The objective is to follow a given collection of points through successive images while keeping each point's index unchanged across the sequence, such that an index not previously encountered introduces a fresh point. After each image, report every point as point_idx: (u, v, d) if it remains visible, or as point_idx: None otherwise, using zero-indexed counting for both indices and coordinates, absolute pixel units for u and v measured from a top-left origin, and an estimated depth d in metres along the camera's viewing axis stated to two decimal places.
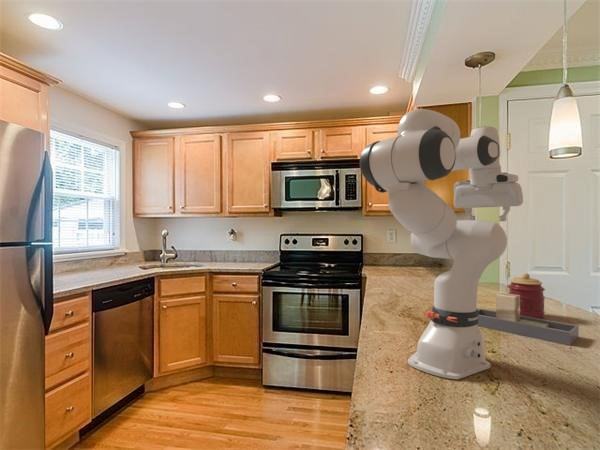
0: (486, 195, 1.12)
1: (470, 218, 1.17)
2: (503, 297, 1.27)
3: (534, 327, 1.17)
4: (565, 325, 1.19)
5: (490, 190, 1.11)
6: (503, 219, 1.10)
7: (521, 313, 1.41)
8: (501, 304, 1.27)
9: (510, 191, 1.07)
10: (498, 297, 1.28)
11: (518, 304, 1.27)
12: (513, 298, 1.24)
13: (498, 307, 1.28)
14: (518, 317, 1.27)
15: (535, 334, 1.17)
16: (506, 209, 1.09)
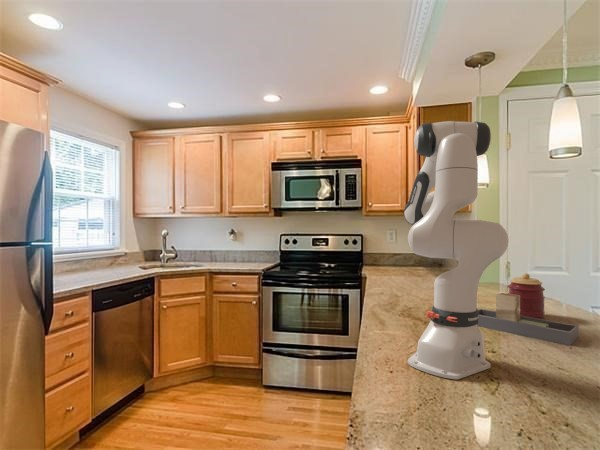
0: None
1: None
2: (503, 297, 1.27)
3: (534, 327, 1.17)
4: (565, 325, 1.19)
5: None
6: None
7: (521, 313, 1.41)
8: (501, 304, 1.27)
9: None
10: (498, 297, 1.28)
11: (518, 304, 1.27)
12: (513, 298, 1.24)
13: (498, 307, 1.28)
14: (518, 317, 1.27)
15: (535, 334, 1.17)
16: None
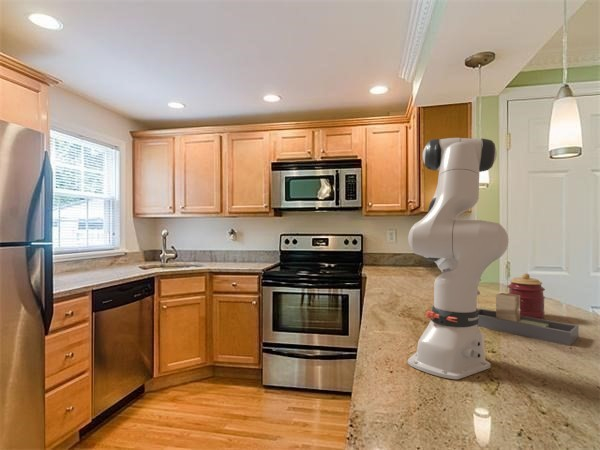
0: None
1: None
2: (503, 297, 1.27)
3: (534, 327, 1.17)
4: (565, 325, 1.19)
5: None
6: (479, 292, 1.37)
7: (521, 313, 1.41)
8: (501, 304, 1.27)
9: None
10: (498, 297, 1.28)
11: (518, 304, 1.27)
12: (513, 298, 1.24)
13: (498, 307, 1.28)
14: (518, 317, 1.27)
15: (535, 334, 1.17)
16: None
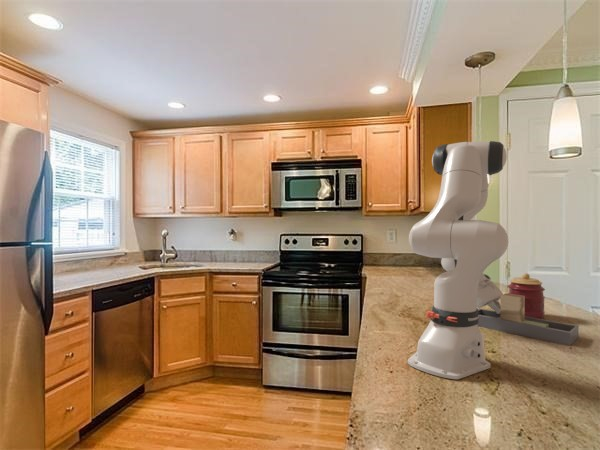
0: (488, 290, 1.34)
1: None
2: (508, 298, 1.25)
3: (534, 327, 1.17)
4: (565, 325, 1.19)
5: (486, 287, 1.35)
6: None
7: None
8: (505, 304, 1.26)
9: (493, 286, 1.39)
10: (502, 298, 1.27)
11: (523, 305, 1.26)
12: (518, 299, 1.23)
13: (503, 308, 1.27)
14: (523, 317, 1.26)
15: (535, 334, 1.17)
16: (497, 301, 1.33)
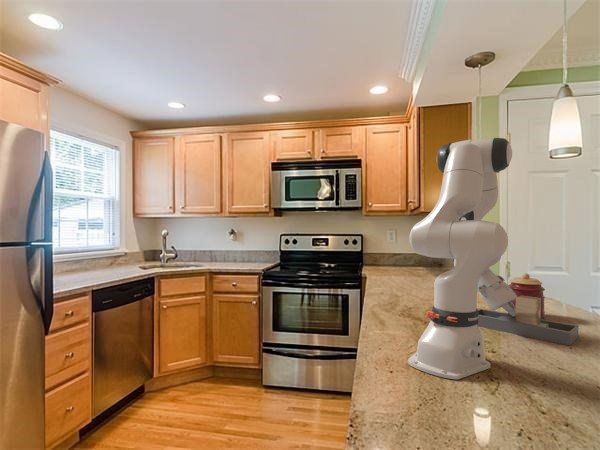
0: (502, 292, 1.30)
1: (515, 311, 1.26)
2: (523, 300, 1.22)
3: (534, 327, 1.17)
4: (565, 325, 1.19)
5: (500, 289, 1.32)
6: None
7: None
8: (521, 307, 1.22)
9: (507, 287, 1.35)
10: (517, 300, 1.23)
11: (539, 307, 1.22)
12: (534, 301, 1.19)
13: (518, 310, 1.23)
14: (539, 320, 1.22)
15: (535, 334, 1.17)
16: (512, 303, 1.29)
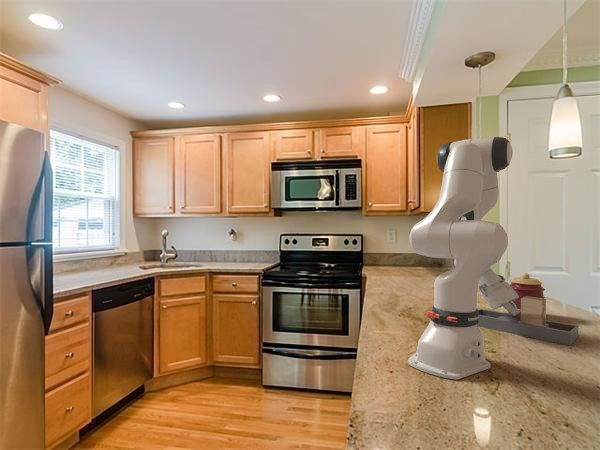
0: (503, 291, 1.30)
1: (516, 310, 1.25)
2: (529, 301, 1.21)
3: (534, 327, 1.17)
4: (565, 325, 1.19)
5: (501, 288, 1.31)
6: None
7: None
8: (526, 308, 1.21)
9: (508, 287, 1.35)
10: (523, 301, 1.22)
11: (544, 308, 1.21)
12: (540, 302, 1.18)
13: (523, 311, 1.22)
14: (544, 321, 1.21)
15: (535, 334, 1.17)
16: (513, 302, 1.29)
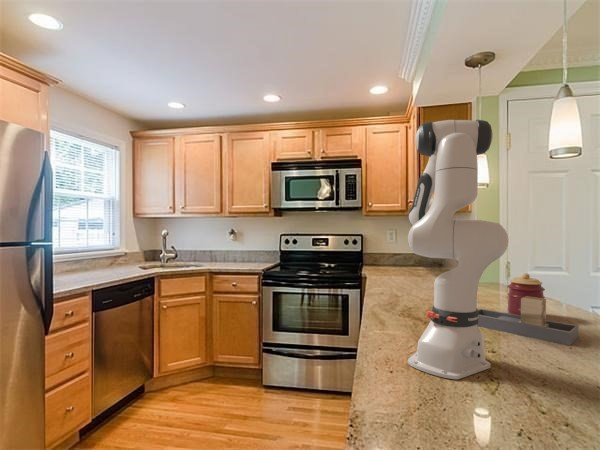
0: None
1: None
2: (529, 301, 1.21)
3: (534, 327, 1.17)
4: (565, 325, 1.19)
5: None
6: None
7: None
8: (526, 308, 1.21)
9: None
10: (523, 301, 1.22)
11: (544, 308, 1.21)
12: (540, 302, 1.18)
13: (523, 311, 1.22)
14: (544, 321, 1.21)
15: (535, 334, 1.17)
16: None
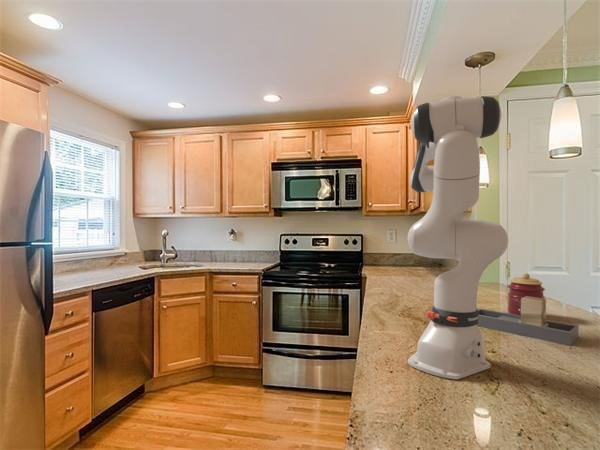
0: None
1: None
2: (529, 301, 1.21)
3: (534, 327, 1.17)
4: (565, 325, 1.19)
5: None
6: None
7: None
8: (526, 308, 1.21)
9: None
10: (523, 301, 1.22)
11: (544, 308, 1.21)
12: (540, 302, 1.18)
13: (523, 311, 1.22)
14: (544, 321, 1.21)
15: (535, 334, 1.17)
16: None
